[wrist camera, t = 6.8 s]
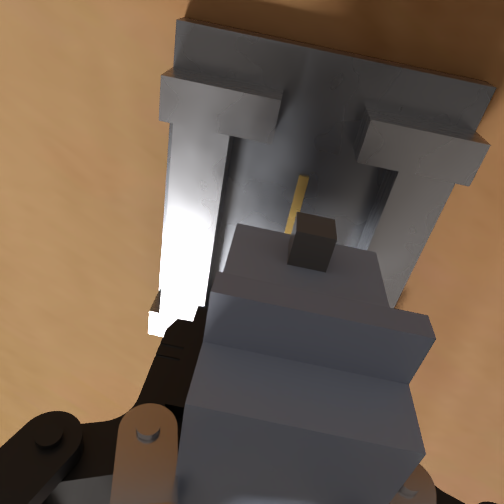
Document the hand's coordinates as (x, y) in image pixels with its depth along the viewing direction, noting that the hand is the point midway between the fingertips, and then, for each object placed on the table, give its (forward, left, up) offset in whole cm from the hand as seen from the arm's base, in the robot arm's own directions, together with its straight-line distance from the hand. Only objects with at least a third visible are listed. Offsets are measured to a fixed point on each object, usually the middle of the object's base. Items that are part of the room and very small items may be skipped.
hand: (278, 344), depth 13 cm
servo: (0, 0, -1) cm, 1 cm away
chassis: (0, 0, -7) cm, 7 cm away
